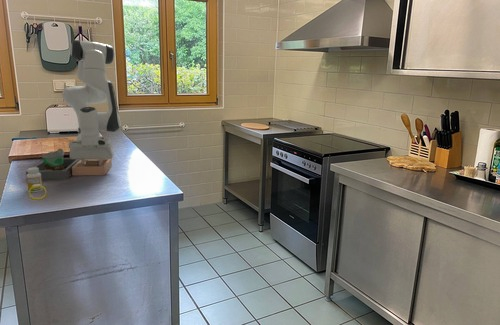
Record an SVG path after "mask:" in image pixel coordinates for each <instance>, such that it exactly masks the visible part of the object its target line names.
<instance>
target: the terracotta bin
mask: <svg viewBox="0 0 500 325" xmlns="http://www.w3.org/2000/svg"><path fill="white" fill-rule="evenodd" d="M88 160H99V159H85V162H87V161H88ZM112 160H113V159H112V158H111V159H103V162H102V163H101V166H92V167H84V164H83V163H82V162H81V160H80V161H79V162H78V163H76V164H75V165H74V166H73V167H72V176H106V175H107V173H108V172H109V171H110V169H111V168H112V167H113V162H112ZM100 162H101V161H99V163H100Z"/></svg>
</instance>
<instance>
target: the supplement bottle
mask: <svg viewBox="0 0 500 325" xmlns="http://www.w3.org/2000/svg"><path fill="white" fill-rule="evenodd" d="M27 171H28V174H27V176H26V175H25V176H26V183H27V190H28V191H29V190H30V188H31V187H33V185H34V184H40V185H41V186H43V180H42V177H41V173H39V168H37V167H34V166H33V168H32V167H28V168H27ZM43 190H44V189H43V188H42V187H37V188H33V189H31V191H30V193H39V192H41V191H43Z"/></svg>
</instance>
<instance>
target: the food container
mask: <svg viewBox="0 0 500 325" xmlns="http://www.w3.org/2000/svg"><path fill="white" fill-rule="evenodd" d="M64 155H65V151H64V150H63V149H62V148H58V149H57V150H54V151H50V152H48V153H43V152H42V153H41V158H42V161H44V166H45V169H44V171H58V170H65V168H64V167H65V166H63V158H64Z"/></svg>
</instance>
